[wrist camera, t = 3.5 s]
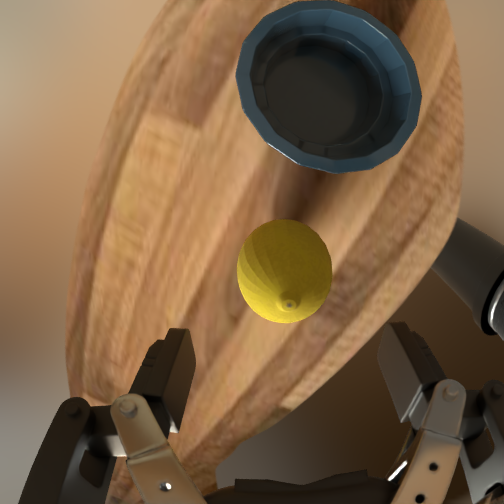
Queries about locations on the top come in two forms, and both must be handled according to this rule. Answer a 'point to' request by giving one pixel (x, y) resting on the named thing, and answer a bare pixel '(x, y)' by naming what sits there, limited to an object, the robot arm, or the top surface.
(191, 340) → the robot arm
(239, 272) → the lemon
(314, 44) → the bowl
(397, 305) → the top surface
